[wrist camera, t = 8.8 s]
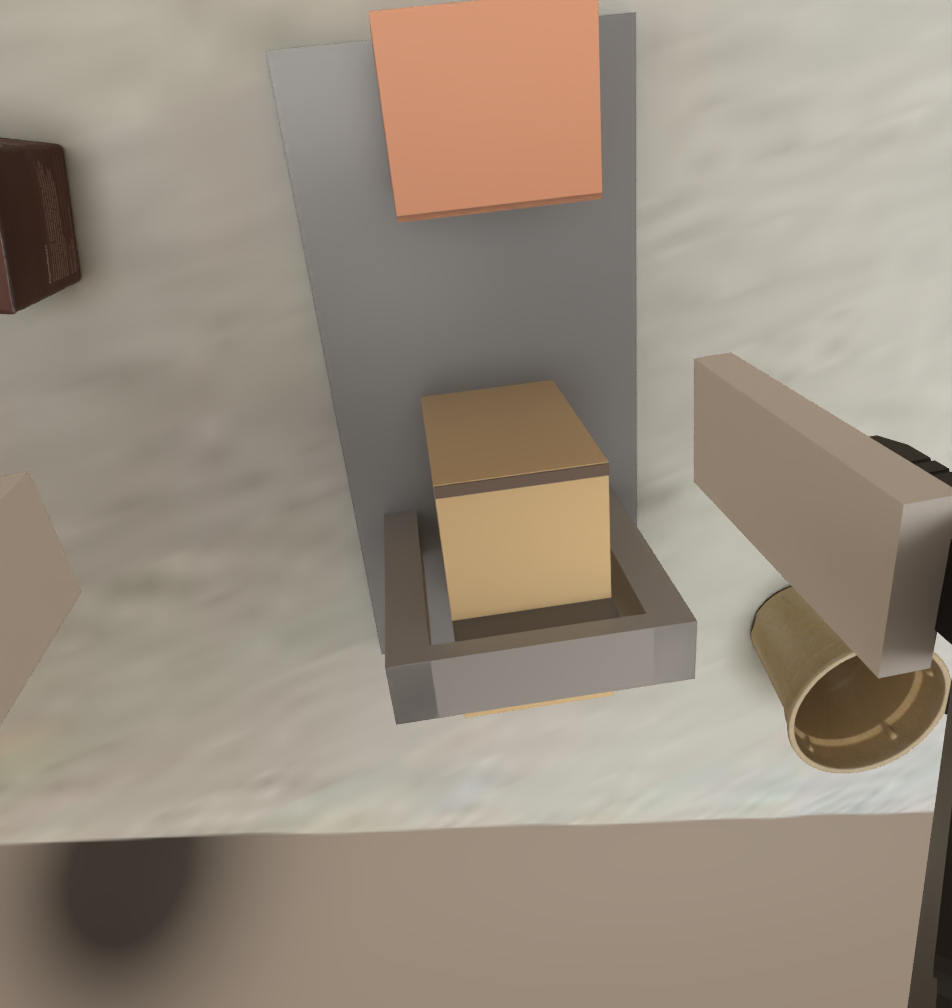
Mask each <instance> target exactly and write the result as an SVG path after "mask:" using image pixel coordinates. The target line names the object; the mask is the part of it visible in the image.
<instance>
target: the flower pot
mask: <svg viewBox="0 0 952 1008" xmlns="http://www.w3.org/2000/svg"><path fill="white" fill-rule="evenodd" d="M751 640H752V644H753V646H754V648H755V650H756V652H757V654H758V656H759V658H760V660H761V662H762V664H763V666H764V668H765V670H766V672H767V674H768V676H769V678H770V680H771V682H772V684H773V686H774V688H775V691H776V693H777V695H778V697H779V699H780V701H781V703H782V705H783V707H784V713H785V719H786V722H787V732H788V738H789V741H790V744H791V746H792V748H793V749H794V751H795V752H796V754H797V755H798V756H799V757H800V758H801V759H802V760H803V761H804V762H805V763H807V764H808V765H810V766H812V767H814V768H817V769H819V770H822V771H826V772H831V773H855V772H863V771H866V770H870V769H875V768H877V767H881V766H883V765H885V764H887V763H890V762H892V761H894V760H896V759H898V758H900V757H901V756H903V755H905V754H907V753H908V752H909V751H910V750H911V749H913V748H914V747H915V746H916V745H918V744H919V743H920V742H921V741H922V740H923V739H924V738H925V737H927V735H928V734H929V733H930V732H931V731H932V730H933V729H934V727H935V726H936V725H937V724H938V722H939V720H940V719H941V718H942V715H943V714H944V712H945V710H946V705H947V700H948V695H949V690H950V685H951V678H950V674H949V671H948V669H947V667H946V665H945V663H944V662H943V660H942V659H941V658H940V657H939V656H938V655H937V654H936V653H934V652H933V656H932V662H931V667H930V668H929V669H924V670H918V671H913V672H908V673H903V674H898V675H893V676H888V677H883V678H877V676H876V675H875V674H874V673H873V672H872V671H871V670H870V669H869V668H868V667H867V666H866V665H865V664H864V663H863V662H862V660H861V659H860V658H859V657H858V656H857V655H856V654H855V653H854V652H853V651H852V650H851V649H850V648H849V647H848V645H847V644H846V643H845V642H844V641H843V640H842V639H841V638H840V637H839V636H838V635H837V634H836V633H835V632H834V631H833V629H832V628H831V627H830V626H829V625H828V624H827V623H826V622H825V621H824V620H823V619H822V618H821V617H820V616H819V615H818V613H817V612H816V611H815V610H814V609H813V608H812V607H811V606H810V605H809V604H808V603H807V602H806V601H805V600H804V599H803V597H802V596H801V595H800V594H799V593H798V592H797V591H796V590H795V589H794V588H793V587H790V588H787V589H785V590H783V591H781V592H779V593H777V594H776V595H774V596H773V597H771V598H770V599H769V600H768V601H767V602H766V603H765V604H764V605H763V606H762V607H761V608H760V610H759V611H758V612H757V614H756V619H755V623H754V627H753V630H752V632H751Z"/></svg>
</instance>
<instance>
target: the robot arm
mask: <svg viewBox="0 0 952 1008" xmlns="http://www.w3.org/2000/svg"><path fill="white" fill-rule="evenodd" d="M694 482H695V483H696V484H697V485H698V486H699V488H700V489H701V490H702V491H703V492H704V493H705V494H706V495H707V496H708V497H709V498H710V499H711V500H712V501H713V502H714V504H715V505H716V506H717V507H718V508H719V509H720V510H721V511H722V512H723V513H724V514H725V515H726V516H727V517H728V518H729V520H730V521H731V522H732V523H733V524H734V525H735V526H736V527H737V528H738V529H739V530H740V531H741V532H742V533H743V535H744V536H745V537H746V538H747V539H748V540H749V541H750V542H751V543H752V544H753V545H754V546H755V547H756V548H757V549H758V551H759V552H760V553H761V554H762V555H763V556H764V557H765V558H766V559H767V560H768V561H769V562H770V563H771V564H772V565H773V567H774V568H775V569H776V570H777V571H778V572H779V573H780V574H781V575H782V576H783V577H784V578H785V579H786V580H787V581H788V583H789V584H790V585H791V586H792V587H793V588H794V589H795V590H796V591H797V592H798V593H799V594H800V595H801V596H802V597H803V599H804V600H805V601H806V602H807V603H808V604H809V605H810V606H811V607H812V608H813V609H814V610H815V611H816V612H817V613H818V615H819V616H820V617H821V618H822V619H823V620H824V621H825V622H826V623H827V624H828V625H829V626H830V627H831V628H832V629H833V631H834V632H835V633H836V634H837V635H838V636H839V637H840V638H841V639H842V640H843V641H844V642H845V643H846V644H847V645H848V647H849V648H850V649H851V650H852V651H853V652H854V653H855V654H856V655H857V656H858V657H859V658H860V659H861V660H862V662H863V663H864V664H865V665H866V666H867V667H868V668H869V669H870V670H871V671H872V672H873V673H874V674H875V675H876V676H877V678H883V677H888V676H893V675H898V674H903V673H908V672H913V671H918V670H924V669H929V668H930V667H931V662H932V656H933V651H934V645H935V640H936V635H937V632H938V633H939V634H940V635H941V636H943V637H944V638H945V639H946V640H947V641H948V642H949V643H951V644H952V472H949V468H947V467H945V466H944V465H942V464H940V463H938V462H937V461H931V460H930V457H928V456H926V455H925V454H923V453H921V452H919V451H918V450H916V449H914V448H913V447H911V446H909V445H907V444H904V443H900V442H897V441H894V440H890V439H887V438H883V437H880V436H877V435H876V436H870V437H869V436H867V435H865V434H864V433H862V432H860V431H859V430H857V429H855V428H854V427H852V426H850V425H849V424H847V423H846V422H844V421H842V420H841V419H839V418H837V417H836V416H834V415H832V414H831V413H829V412H828V411H826V410H824V409H823V408H821V407H819V406H818V405H816V404H814V403H813V402H811V401H809V400H808V399H806V398H805V397H803V396H801V395H800V394H798V393H796V392H795V391H793V390H791V389H790V388H788V387H787V386H785V385H783V384H782V383H780V382H778V381H777V380H775V379H773V378H772V377H770V376H769V375H767V374H765V373H764V372H762V371H760V370H759V369H757V368H755V367H754V366H752V365H750V364H749V363H747V362H746V361H744V360H742V359H741V358H739V357H737V356H736V355H734V354H732V353H725V354H720V355H714V356H708V357H702V358H696V359H694ZM80 593H81V589H80V587H79V585H78V583H77V580H76V578H75V576H74V573H73V571H72V569H71V567H70V564H69V562H68V560H67V558H66V555H65V553H64V551H63V549H62V546H61V544H60V542H59V540H58V537H57V535H56V533H55V530H54V528H53V526H52V524H51V521H50V519H49V517H48V515H47V512H46V510H45V508H44V506H43V503H42V501H41V499H40V497H39V494H38V492H37V490H36V488H35V485H34V483H33V481H32V478H31V476H30V474H29V472H23V473H17V474H11V475H5V476H0V725H1V723H2V722H3V720H4V719H5V717H6V715H7V714H8V712H9V710H10V709H11V707H12V705H13V704H14V702H15V700H16V699H17V697H18V695H19V694H20V692H21V690H22V689H23V687H24V686H25V684H26V682H27V681H28V679H29V677H30V676H31V674H32V672H33V671H34V669H35V667H36V666H37V664H38V662H39V661H40V659H41V657H42V656H43V654H44V652H45V651H46V649H47V648H48V646H49V644H50V643H51V641H52V639H53V638H54V636H55V634H56V633H57V631H58V629H59V628H60V626H61V624H62V623H63V621H64V619H65V618H66V616H67V615H68V613H69V611H70V610H71V608H72V606H73V605H74V603H75V601H76V600H77V598H78V596H79V595H80ZM945 714H947V721H946V729H945V736H944V743H943V751H942V758H941V765H940V773H939V780H938V787H937V795H936V802H935V809H934V818H933V824H932V832H931V839H930V846H929V854H928V861H927V868H926V875H925V883H924V891H923V898H922V905H921V912H920V919H919V927H918V934H917V941H916V949H915V956H914V963H913V971H912V978H911V985H910V993H909V1000H908V1008H952V680H951V685H950V690H949V695H948V700H947V705H946V710H945Z"/></svg>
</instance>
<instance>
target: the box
mask: <svg viewBox="0 0 952 1008" xmlns="http://www.w3.org/2000/svg"><path fill="white" fill-rule="evenodd" d="M79 280H80V271H79V265H78V257H77V250H76V242H75V236H74V228H73V221H72V215H71V207H70V200H69V194H68V185H67V179H66V173H65V165H64V159H63V150H62V147H61V146H60V145H58V144H51V143H42V142H33V141H24V140H17V139H8V138H0V314H15V313H16V312H17V311H19V310H22V309H24V308H26V307H29V306H30V305H32V304H34V303H36V302H39V301H40V300H42V299H45V298H47V297H48V296H51V295H53V294H54V293H56V292H58V291H60V290H62V289H64V288H66V287H68V286H70V285H72V284H74V283H76V282H78V281H79Z"/></svg>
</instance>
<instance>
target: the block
mask: <svg viewBox="0 0 952 1008" xmlns="http://www.w3.org/2000/svg"><path fill="white" fill-rule="evenodd" d="M369 18H370V27H371V37H372V46H373V53H374V60H375V68H376V75H377V82H378V89H379V97H380V104H381V111H382V119H383V126H384V133H385V140H386V148H387V155H388V162H389V170H390V177H391V184H392V191H393V198H394V204H395V210H396V216H397V222H398V223H400V222H409V221H417V220H426V219H434V218H443V217H452V216H460V215H469V214H477V213H486V212H494V211H503V210H511V209H520V208H528V207H537V206H545V205H554V204H563V203H571V202H580V201H588V200H597V199H602V160H601V112H600V64H599V16H598V0H478V1H468V2H458V3H448V4H438V5H428V6H418V7H408V8H399V9H389V10H379V11H369Z"/></svg>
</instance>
